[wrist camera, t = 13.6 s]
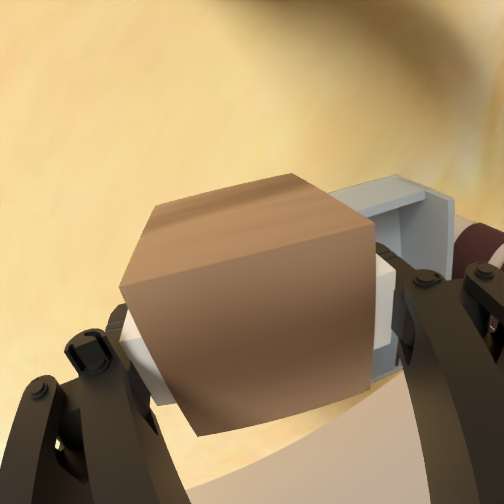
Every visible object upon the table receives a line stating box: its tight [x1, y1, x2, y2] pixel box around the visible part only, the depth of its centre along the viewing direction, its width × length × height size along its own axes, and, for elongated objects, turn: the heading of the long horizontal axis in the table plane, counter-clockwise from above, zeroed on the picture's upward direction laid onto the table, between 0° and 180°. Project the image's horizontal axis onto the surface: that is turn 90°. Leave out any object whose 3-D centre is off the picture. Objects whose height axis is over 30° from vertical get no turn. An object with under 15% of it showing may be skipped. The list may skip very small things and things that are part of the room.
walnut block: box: [119, 173, 376, 437], centre depth 11 cm, size 6×6×7 cm
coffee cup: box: [451, 216, 504, 330], centre depth 28 cm, size 10×10×15 cm
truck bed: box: [328, 175, 454, 383], centre depth 30 cm, size 22×18×9 cm
